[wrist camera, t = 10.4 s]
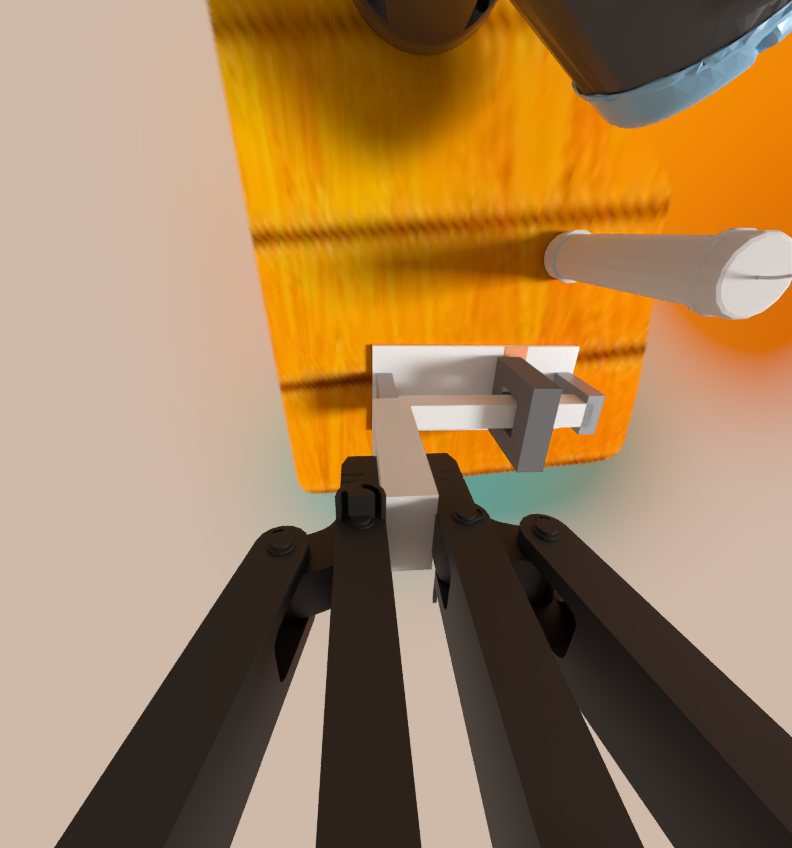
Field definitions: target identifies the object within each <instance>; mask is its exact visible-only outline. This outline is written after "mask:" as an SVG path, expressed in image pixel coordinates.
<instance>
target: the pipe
mask: <svg viewBox="0 0 792 848" xmlns="http://www.w3.org/2000/svg"><path fill="white" fill-rule="evenodd" d="M544 265H545V269H546V271H547V272H548V274H549V275H550V276H551V277H553V278H555V279H557V280H560V281H562V282H565V283H575V282H577V281H578V282H583V283H587V284H592V285H596V286H601V287H606V288H610V289H615V290H619V291H624V292H628V293H633V294H637V295H642V296H646V297H651V298H656V299H660V300H665V301H669V302H674V303H678V304H683V305H687V307H688V309H690V310H691V311H693V312H695V313H697V314H699V315H702V316H717V317H721V318H725V319H745V318H748V317H751V316H753V315H756V314H758V313H761V312H763V311H764V310H765V309H766V308H768V307H769V306H771V305H772V304H773V303H774V302H776V301H777V300H778V298H779V297H780V296H781V295H782V294H783V292H784V291H785V290H786V289H787V287H788V286H789V284H790V282H791V280H792V238H790V237H789V236H787V235H786V234H784V233H783V232H781V231H779V230H756V229H755V228H730V229H728V230H725V231H723V232H721V233H718V234H716V235H636V234H592V233H590V232H588V231H586V230H572V231H566V232H564V233H561V234H559V235H557V236H556V237H555V238H554V239H553V240H552V241H551V242H550V243H549V245H548V247H547V249H546V251H545V256H544Z"/></svg>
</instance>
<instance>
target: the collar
mask: <svg viewBox="0 0 792 848" xmlns="http://www.w3.org/2000/svg"><path fill="white" fill-rule="evenodd" d="M562 390H563V389H562V388H561V387H560V386H558V385H557V384H556V383H555V382H553V381H552V380H551V379H549V378H548V377H547V376H545V375H544V374H543V373H541V372H540V371H539V370H537V369H536V368H535V367H533V366H532V365H531V364H529V363H528V362H527V361H525V360H524V359H523V358H521V357H497V364H496V370H495V377H494V383H493V390H492V395H513V396H514V397H515V398H516V399H517V400H518V403H517V408H516V413H515V419H514V424H513V428H494V429H488V430H489V432H490V433H491V435H492V436H493V437H494V439H495V440H496V442H497V443H498V445H499V446H500V448H501V449H502V451H503V452H504V454H505V455H506V457H507V458H508V460H509V461H510V463H511V464H512V466H513V467H514V469H515V470H516V472H542V471H543V468H544V464H545V460H546V456H547V451H548V447H549V443H550V439H551V435H552V431H553V427H554V423H555V419H556V415H557V411H558V406H559V402H560V398H561V394H562Z"/></svg>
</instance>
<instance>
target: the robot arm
mask: <svg viewBox="0 0 792 848" xmlns="http://www.w3.org/2000/svg"><path fill="white" fill-rule="evenodd" d="M354 2H355V4H356V6H357V8H358V9H359V11H360V13H361V14H362V16H363V17H364V19H365V20H366V21H367V23H368V24H369V25H370V26H371V27H372V29H373V30H374V31H375V32H376V33H377V34H378V35H379V36H381V37H382V38H383V39H384V40H385V41H387V42H388V43H390V44H391V45H393V46H395V47H397V48H399V49H401V50H403V51H406V52H409V53H414V54H420V55H431V54H438V53H442V52H445V51H448V50H450V49H452V48H454V47H456V46H458V45H460V44H461V43H463V42H464V41H465V40H467V39H468V38H469V37H470V36H471V35H473V34H474V33H475V32H476V31H477V29H478V28H479V27H480V26H481V25H482V24H483V22H484V21H485V20H486V18H487V17H488V15H489V14H490V12H491V10H492V9H493V7H494V5H495V4H496V2H497V0H354ZM510 2H511V3H512V4H513V5H514V7H515V8H516V9H517V11H518V12H519V13H520V14H521V16H522V17H523V18H524V20H525V21H526V22H527V23H528V25H529V26H530V27H531V28H532V30H533V31H534V32H535V34H536V35H537V36H538V37H539V39H540V40H541V41H542V42H543V44H544V45H545V46H546V48H547V49H548V50H549V51H550V53H551V54H552V55H553V57H554V58H555V59H556V60H557V62H558V63H559V64H560V65H561V67H562V68H563V69H564V71H565V72H566V73H567V74H568V76H569V77H570V78H571V80H572V86H573V88H574V90H575V92H576V93H577V95H578V96H579V97H581V98H583V99H585V100H586V101H589V102H590V103H591V105H592V106H593V107H594V108H595V109H596V110H597V111H598V113H599V114H600V115H601V116H602V117H603V118H604V119H605V120H606V121H607V122H608V123H610V124H612V125H615V126H618V127H620V128H627V129H631V128H639V127H644V126H647V125H651V124H654V123H657V122H660V121H662V120H665V119H667V118H669V117H671V116H673V115H676V114H678V113H680V112H681V111H683V110H685V109H687V108H689V107H691V106H693V105H695V104H696V103H698V102H699V101H701V100H703V99H705V98H706V97H708V96H709V95H711V94H713V93H714V92H716V91H717V90H719V89H720V88H722V87H723V86H725V85H726V84H728V83H729V82H730V81H732V80H733V79H735V78H736V77H737V76H739V75H740V74H741V73H743V72H744V71H745V70H747V69H748V68H749V67H750V66H752V65H753V64H754V62H755V59H756V56H757V55H758V54H759V53H761V52H762V51H764V50H766V49H768V48H770V47H772V46H774V45H776V44H778V43H779V42H780V41H782V40H783V39H784V38H785V37H786V36H787V35H788V34H789V33H790V32H791V31H792V0H510ZM335 505H336V520H335V521H334V522H333V523H332V524H331V525H330V526H329V527H327V528H325V529H323V530H321V531H318V532H315V533H312V534H309V535H307V534H306V533H305V532H304V531H303V530H302V529H300V528H297V527H294V526H280V527H277V528H273V529H270V530H269V531H267V532H265V533H263V534H262V535H261V536H260V537H259V538H258V539H257V540H256V541H255V543H254V545H253V546H252V548H251V549H250V551H249V552H248V554H247V555H246V557H245V558H244V560H243V562H242V563H241V564H240V566H239V567H238V569H237V571H236V572H235V573H234V575H233V576H232V578H231V580H230V581H229V583H228V584H227V586H226V587H225V589H224V590H223V592H222V593H221V595H220V596H219V598H218V599H217V601H216V602H215V604H214V606H213V607H212V608H211V610H210V611H209V613H208V615H207V616H206V618H205V619H204V621H203V622H202V624H201V625H200V627H199V628H198V630H197V631H196V633H195V634H194V636H193V637H192V639H191V640H190V642H189V643H188V645H187V646H186V648H185V649H184V651H183V653H182V654H181V656H180V657H179V659H178V660H177V662H176V663H175V665H174V666H173V668H172V669H171V671H170V672H169V674H168V675H167V677H166V678H165V680H164V681H163V683H162V684H161V686H160V688H159V689H158V691H157V692H156V694H155V695H154V697H153V698H152V700H151V701H150V703H149V705H148V706H147V707H146V709H145V710H144V712H143V713H142V715H141V717H140V718H139V719H138V721H137V723H136V724H135V726H134V727H133V729H132V730H131V732H130V733H129V735H128V736H127V738H126V739H125V741H124V742H123V744H122V745H121V747H120V748H119V750H118V752H117V753H116V754H115V756H114V758H113V759H112V761H111V762H110V764H109V765H108V767H107V768H106V770H105V771H104V773H103V775H102V776H101V777H100V779H99V781H98V782H97V783H96V785H95V786H94V788H93V789H92V791H91V792H90V794H89V796H88V797H87V799H86V800H85V802H84V803H83V805H82V806H81V808H80V809H79V811H78V812H77V814H76V815H75V817H74V818H73V820H72V822H71V823H70V825H69V826H68V828H67V829H66V831H65V832H64V834H63V835H62V837H61V838H60V840H59V841H58V843H57V845H56V846H55V847H54V848H230V846H231V843H232V840H233V837H234V835H235V832H236V830H237V827H238V824H239V821H240V819H241V816H242V813H243V810H244V808H245V805H246V803H247V800H248V797H249V794H250V792H251V789H252V786H253V784H254V781H255V778H256V776H257V773H258V770H259V767H260V765H261V762H262V759H263V756H264V754H265V751H266V748H267V746H268V743H269V740H270V737H271V735H272V732H273V730H274V727H275V724H276V721H277V719H278V716H279V713H280V711H281V708H282V705H283V703H284V700H285V697H286V695H287V692H288V689H289V686H290V684H291V681H292V678H293V676H294V673H295V670H296V668H297V665H298V662H299V659H300V656H301V654H302V651H303V648H304V646H305V643H306V641H307V638H308V635H309V632H310V630H311V627H312V624H313V622H314V618H315V615H316V614H318V613H321V612H324V611H326V610H329V609H331V615H330V631H329V646H328V662H327V678H326V693H325V709H324V725H323V741H322V756H321V774H320V788H319V789H320V790H319V804H318V819H317V836H316V848H421V839H420V830H419V820H418V812H417V802H416V793H415V784H414V776H413V775H414V774H413V765H412V756H411V747H410V737H409V729H408V720H407V710H406V701H405V692H404V682H403V673H402V664H401V655H400V645H399V637H398V627H397V618H396V608H395V599H394V590H393V581H392V572H391V571H406V570H424V569H431V567H432V558H433V560H434V564H435V569H436V570H435V580H434V589H433V603H436V601H437V597H438V602H439V606H440V611H441V615H442V620H443V625H444V629H445V634H446V638H447V643H448V647H449V652H450V656H451V661H452V665H453V670H454V674H455V679H456V684H457V688H458V693H459V697H460V702H461V706H462V711H463V716H464V719H465V725H466V729H467V733H468V738H469V743H470V747H471V752H472V756H473V761H474V765H475V770H476V775H477V779H478V783H479V788H480V793H481V797H482V801H483V806H484V810H485V815H486V820H487V824H488V829H489V833H490V838H491V843H492V847H493V848H644V847H643V845H642V843H641V840H640V838H639V836H638V834H637V832H636V830H635V827H634V825H633V823H632V821H631V819H630V817H629V815H628V813H627V810H626V808H625V807H624V804H623V802H622V800H621V797H620V795H619V793H618V791H617V789H616V787H615V785H614V782H613V780H612V778H611V776H610V774H609V772H608V770H607V768H606V765H605V763H604V761H603V759H602V757H601V755H600V752H599V750H598V748H597V746H596V744H595V742H594V740H593V737H592V735H591V733H590V731H589V729H588V727H587V725H586V723H585V721H584V718H583V716H582V714H583V715H584V717H585V718H586V719H587V721H588V722H589V724H590V725H591V727H592V728H593V730H594V731H595V733H596V734H597V735H598V737H599V739H600V740H601V741H602V743H603V744H604V746H605V747H606V749H607V750H608V752H609V753H610V754H611V756H612V757H613V759H614V760H615V762H616V763H617V765H618V766H619V767H620V769H621V771H622V772H623V774H624V775H625V776H626V778H627V779H628V781H629V782H630V784H631V785H632V787H633V788H634V789H635V791H636V792H637V794H638V795H639V797H640V798H641V800H642V801H643V803H644V804H645V806H646V807H647V808H648V810H649V811H650V813H651V814H652V816H653V817H654V819H655V820H656V822H657V823H658V824H659V826H660V827H661V829H662V830H663V832H664V833H665V835H666V836H667V838H668V839H669V841H670V842H671V843H672V845H673V846H674V848H792V737H791V736H790V735H789V734H788V733H787V732H786V731H785V730H784V729H783V728H781V727H780V726H779V725H778V724H777V723H776V722H775V721H774V720H773V719H772V718H771V717H770V716H769V715H768V714H766V713H765V712H764V711H763V710H762V709H761V708H760V707H759V706H758V705H757V704H756V703H755V702H754V701H753V700H752V699H751V698H749V697H748V696H747V695H746V694H745V693H744V692H743V691H742V690H741V689H740V688H739V687H738V686H737V685H735V684H734V683H733V682H732V681H731V680H730V679H729V678H728V677H727V676H726V675H725V674H724V673H723V672H722V671H721V670H720V669H719V668H717V667H716V666H715V665H714V664H713V663H712V662H711V661H710V660H709V659H708V658H707V657H706V656H704V654H702V653H701V652H700V651H699V650H698V649H697V648H696V647H695V646H694V645H693V644H692V643H691V642H690V641H689V640H688V639H687V638H685V637H684V636H683V635H682V634H681V633H680V632H679V631H678V630H677V629H676V628H675V627H674V626H673V625H672V624H671V623H669V622H668V621H667V620H666V619H665V618H664V617H663V616H662V615H661V614H660V613H659V612H658V611H657V610H656V609H655V608H653V607H652V606H651V605H650V604H649V603H648V602H647V601H646V600H645V599H644V598H643V597H642V596H641V595H640V594H639V593H637V592H636V591H635V590H634V589H633V588H632V587H631V586H630V585H629V584H628V583H627V582H626V581H625V580H624V579H623V578H621V577H620V576H619V575H618V574H617V573H616V572H615V571H614V570H613V569H612V568H611V567H610V566H609V565H608V564H606V563H605V562H604V561H603V560H602V559H601V558H600V557H599V556H598V555H597V554H596V553H595V552H594V551H593V550H591V548H589V547H588V546H587V545H586V544H585V543H584V542H583V541H582V540H581V539H580V538H579V537H577V535H575V534H574V533H573V532H572V531H571V530H570V529H569V528H568V527H567V526H566V525H564V524H563V523H562V522H560V521H559V520H557V519H555V518H553V517H550V516H547V515H542V514H531V515H528V516H526V517H524V518H523V519H522V520H521V522H520V525H519V526H518V525H512V524H507V523H502V522H498V521H495V520H493V519H490V517H489V515H488V513H487V512H486V511H485V509H483V508H482V507H480V506H479V505H477V504H475V503H474V501H473V499H472V496H471V494H470V492H469V490H468V487H467V485H466V483H465V480H464V479H463V476H462V473H461V471H460V469H459V467H458V464H457V462H456V460H454V459H453V458H452V457H451V456H450V455H448V454H447V453H433V454H426V453H425V450H424V447H423V444H422V441H421V437H420V434H419V431H418V428H417V425H416V422H415V418H414V415H413V412H412V409H411V406H410V402H409V399H373V456H353V457H348V458H347V459H346V460H345V461H344V463H343V464H342V469H341V485H340V489H339V490H338V491H337V493H336V496H335ZM579 709H580V710H579ZM580 711H581V712H582V714H581V712H580Z"/></svg>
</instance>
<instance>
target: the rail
mask: <svg viewBox="0 0 792 848" xmlns="http://www.w3.org/2000/svg"><path fill="white" fill-rule="evenodd" d="M578 351H579V346H577V345H412V344H372V432H373V399H409V402H410V406H411V409H412V412H413V415H414V418H415V422H416V425H417V428H418V431H442V430H488V429H494V428H513V424H514V419H515V413H516V408H517V403H518V400H517V399H516V398H515V397H514V396H513V395H492V390H493V383H494V377H495V370H496V364H497V357H521V358H523V359H524V360H525V361H527V362H528V363H529V364H531V365H532V366H533V367H535V368H536V369H537V370H539V371H540V372H541V373H543V374H544V375H545V376H547V377H548V378H549V379H551V380H552V381H553V382H555V383H556V384H557V385H558V386H560V387H561V388H562V389H563V390H562V394H561V398H560V402H559V406H558V411H557V415H556V419H555V423H554V427H553V428H559V427H571V428H572V429H573V430H574V431H575V432H576V433H577V434H594V432H595V429H596V425H597V422H598V419H599V415H600V412H601V409H602V406H603V402H604V399H605V395H604V394H602V393H600V392H599V391H597V390H596V389H594V388H593V387H591V386H590V385H588V384H587V383H585V382H584V381H582V380H581V379H579V378H578V377H576V376H574V375H573V371H574V367H575V363H576V359H577V355H578Z"/></svg>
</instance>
